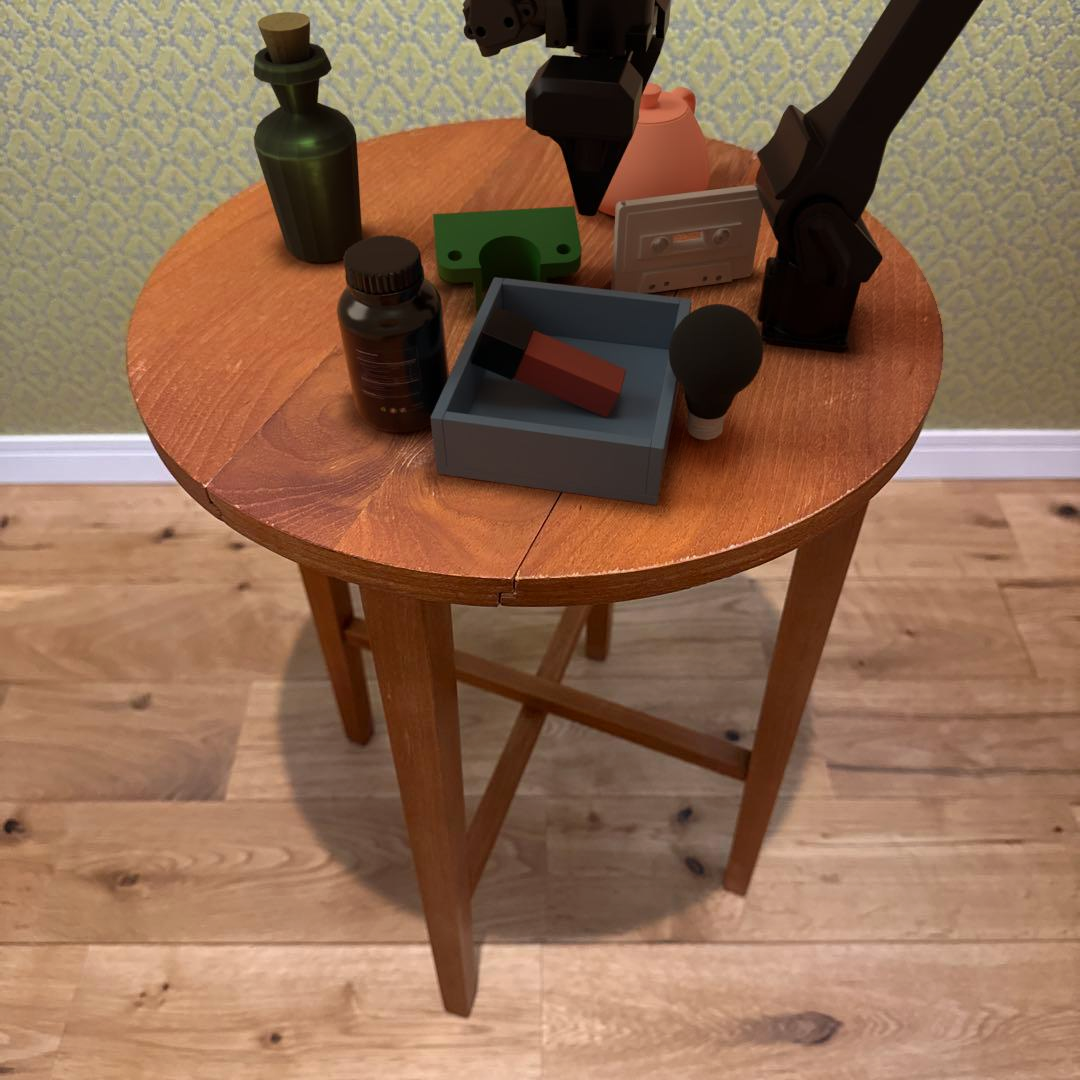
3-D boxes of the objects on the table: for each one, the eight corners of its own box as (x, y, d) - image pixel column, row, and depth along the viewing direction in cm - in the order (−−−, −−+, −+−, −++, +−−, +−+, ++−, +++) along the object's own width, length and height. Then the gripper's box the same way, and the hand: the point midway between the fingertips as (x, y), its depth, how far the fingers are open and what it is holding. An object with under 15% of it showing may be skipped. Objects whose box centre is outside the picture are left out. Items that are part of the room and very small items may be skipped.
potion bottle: (344, 276, 80) (305, 47, 67) (259, 259, 82) (204, 33, 69) (388, 230, 86) (359, 9, 73) (307, 214, 88) (264, -3, 75)
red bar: (614, 392, 68) (629, 363, 66) (606, 420, 66) (622, 391, 64) (482, 336, 67) (494, 305, 65) (470, 363, 65) (482, 331, 63)
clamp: (468, 348, 81) (416, 278, 73) (463, 294, 84) (412, 222, 76) (603, 299, 77) (563, 221, 70) (593, 245, 80) (554, 165, 73)
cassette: (746, 268, 81) (760, 180, 76) (754, 279, 80) (770, 191, 74) (608, 287, 79) (613, 198, 74) (615, 299, 78) (620, 210, 72)
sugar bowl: (545, 204, 89) (544, 90, 81) (636, 152, 96) (643, 42, 89) (653, 249, 83) (664, 130, 76) (741, 189, 91) (759, 76, 83)
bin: (685, 354, 73) (692, 298, 69) (657, 505, 62) (663, 448, 58) (496, 331, 75) (494, 276, 71) (436, 474, 64) (430, 417, 60)
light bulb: (686, 476, 64) (704, 349, 56) (644, 423, 67) (656, 298, 60) (762, 452, 65) (789, 326, 58) (717, 402, 69) (737, 277, 62)
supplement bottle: (363, 375, 71) (337, 224, 62) (456, 376, 71) (443, 225, 62) (347, 435, 66) (317, 282, 58) (446, 437, 66) (431, 283, 58)
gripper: (509, -128, 62) (514, 115, 74) (426, -39, 50) (448, 238, 61) (682, -120, 61) (660, 128, 72) (641, -25, 48) (623, 257, 60)
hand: (599, 182), depth 66 cm, fingers open, 9 cm apart
